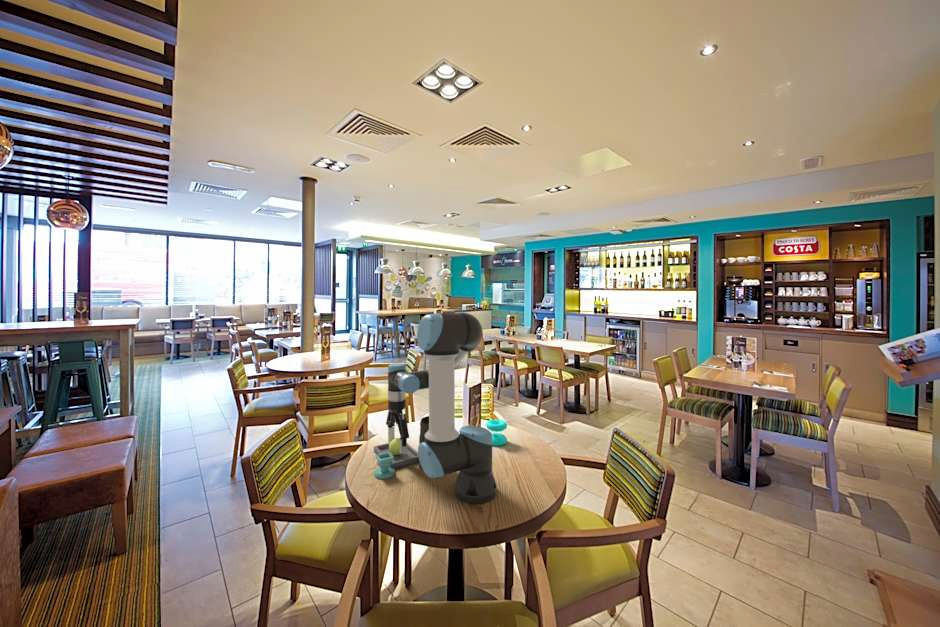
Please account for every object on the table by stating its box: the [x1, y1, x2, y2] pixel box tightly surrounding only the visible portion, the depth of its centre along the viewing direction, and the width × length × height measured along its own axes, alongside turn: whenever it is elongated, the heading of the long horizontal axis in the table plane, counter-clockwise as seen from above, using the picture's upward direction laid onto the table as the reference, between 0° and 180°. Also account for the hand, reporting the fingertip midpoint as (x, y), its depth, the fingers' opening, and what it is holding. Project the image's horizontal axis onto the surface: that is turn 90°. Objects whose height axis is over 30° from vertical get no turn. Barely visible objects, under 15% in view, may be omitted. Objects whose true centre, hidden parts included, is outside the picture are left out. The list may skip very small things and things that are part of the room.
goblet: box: [373, 452, 396, 480], centre depth 144 cm, size 8×8×7 cm
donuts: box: [485, 418, 508, 447], centre depth 175 cm, size 10×10×10 cm
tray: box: [373, 442, 420, 470], centre depth 160 cm, size 20×14×2 cm
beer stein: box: [418, 415, 429, 472], centre depth 150 cm, size 15×11×20 cm
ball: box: [389, 437, 400, 455], centre depth 159 cm, size 7×7×7 cm
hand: (397, 447), depth 160 cm, fingers open, 13 cm apart
